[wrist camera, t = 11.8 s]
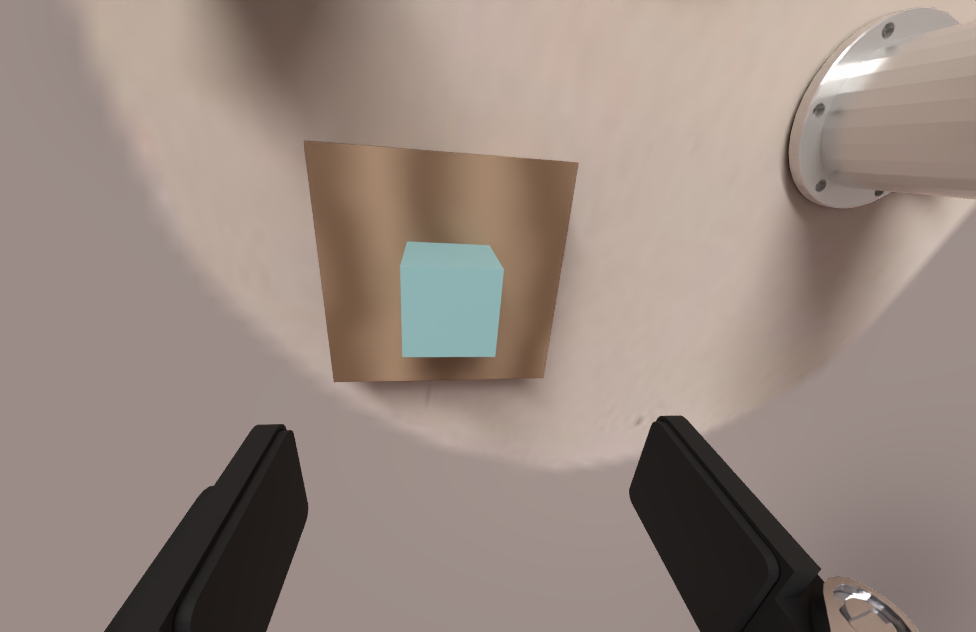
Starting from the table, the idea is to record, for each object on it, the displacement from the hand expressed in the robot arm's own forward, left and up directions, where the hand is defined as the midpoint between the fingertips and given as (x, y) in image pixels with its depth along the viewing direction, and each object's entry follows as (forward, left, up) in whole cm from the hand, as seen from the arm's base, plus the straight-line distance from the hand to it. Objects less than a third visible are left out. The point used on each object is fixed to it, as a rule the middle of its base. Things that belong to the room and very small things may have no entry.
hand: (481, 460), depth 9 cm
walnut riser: (0, 0, -19) cm, 19 cm away
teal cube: (0, 0, -15) cm, 15 cm away
